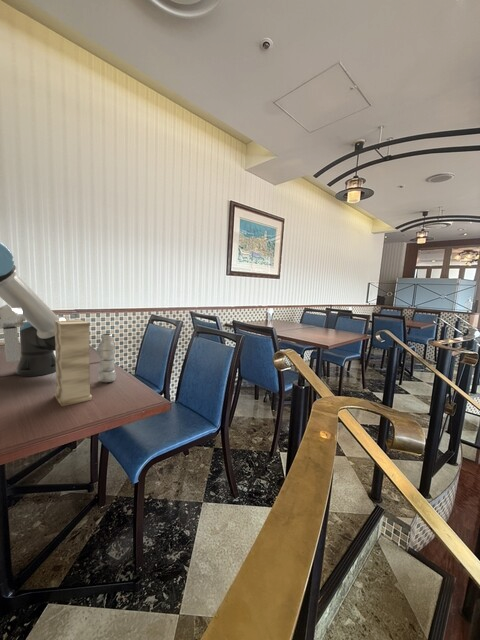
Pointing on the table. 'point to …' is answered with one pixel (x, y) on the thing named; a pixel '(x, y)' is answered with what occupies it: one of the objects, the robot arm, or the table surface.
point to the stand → (72, 362)
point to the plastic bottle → (106, 359)
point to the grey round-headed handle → (12, 334)
